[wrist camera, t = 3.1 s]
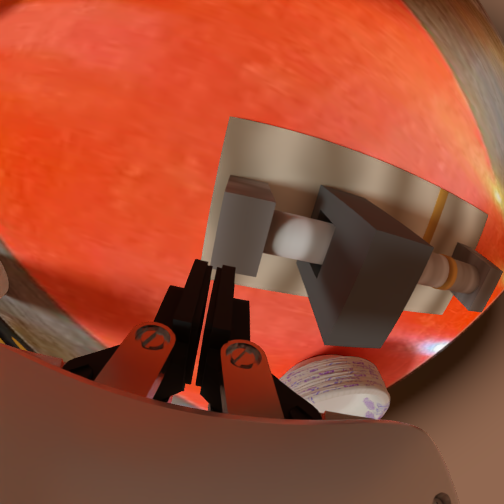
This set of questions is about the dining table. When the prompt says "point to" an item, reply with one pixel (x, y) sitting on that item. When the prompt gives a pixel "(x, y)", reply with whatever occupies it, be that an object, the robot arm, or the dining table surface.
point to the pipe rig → (320, 233)
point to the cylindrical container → (3, 281)
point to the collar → (361, 271)
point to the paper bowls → (340, 385)
